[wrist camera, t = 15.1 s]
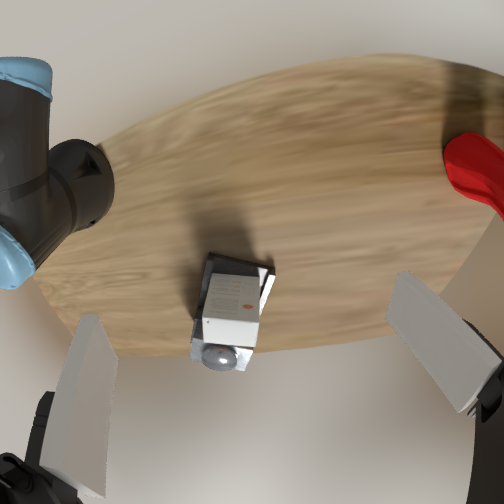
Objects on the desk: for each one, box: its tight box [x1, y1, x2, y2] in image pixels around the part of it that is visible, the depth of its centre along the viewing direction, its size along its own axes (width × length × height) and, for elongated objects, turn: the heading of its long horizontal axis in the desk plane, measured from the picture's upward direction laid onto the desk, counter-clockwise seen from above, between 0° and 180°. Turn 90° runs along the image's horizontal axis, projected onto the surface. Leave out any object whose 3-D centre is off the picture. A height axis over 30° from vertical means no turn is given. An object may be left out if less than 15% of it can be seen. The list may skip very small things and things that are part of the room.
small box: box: [202, 273, 260, 347], centre depth 43 cm, size 8×6×10 cm
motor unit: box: [189, 252, 276, 371], centre depth 46 cm, size 11×18×10 cm, turn 165°
